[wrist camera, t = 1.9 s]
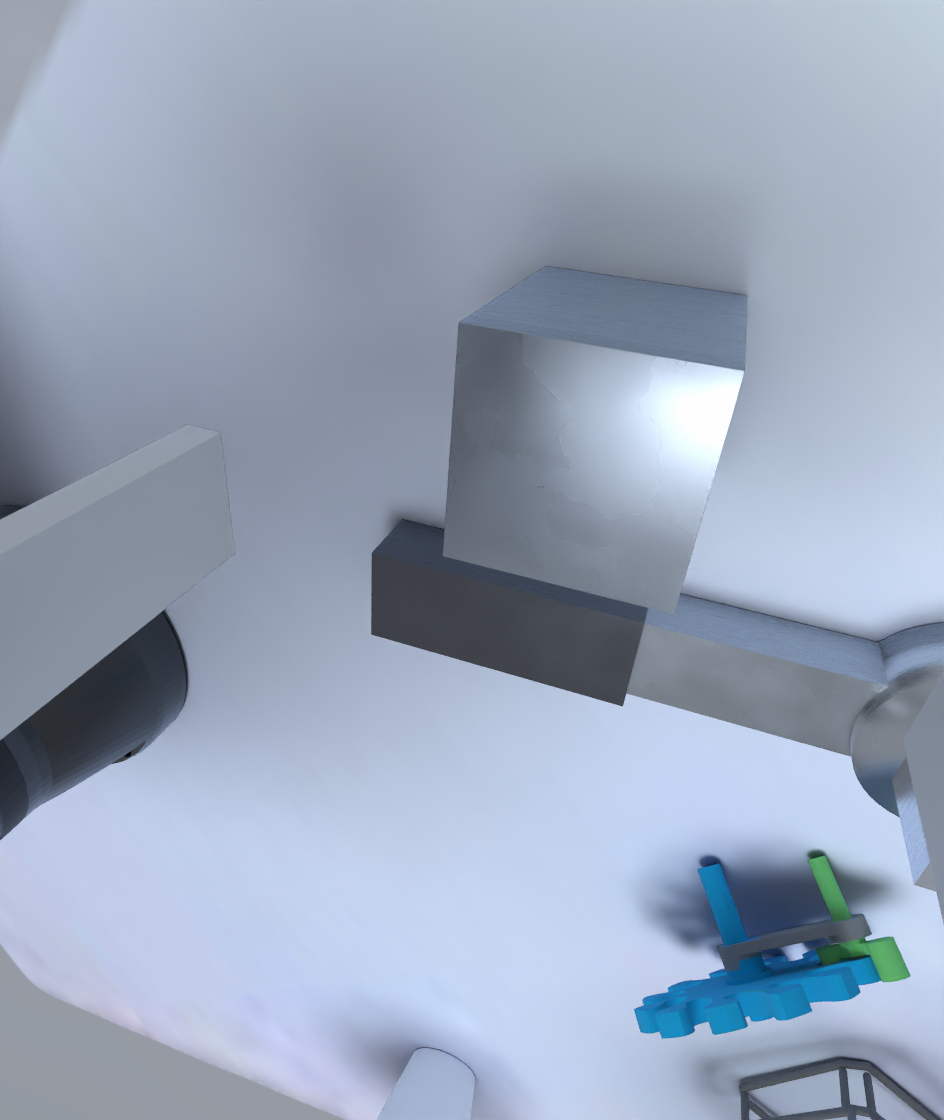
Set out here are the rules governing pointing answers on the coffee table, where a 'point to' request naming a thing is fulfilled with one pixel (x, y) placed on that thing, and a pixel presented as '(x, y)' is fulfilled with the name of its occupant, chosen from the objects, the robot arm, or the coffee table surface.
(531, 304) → the grey rectangular block
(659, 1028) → the gear
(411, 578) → the ratchet
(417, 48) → the coffee table surface
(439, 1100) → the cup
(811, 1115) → the geometric lantern
